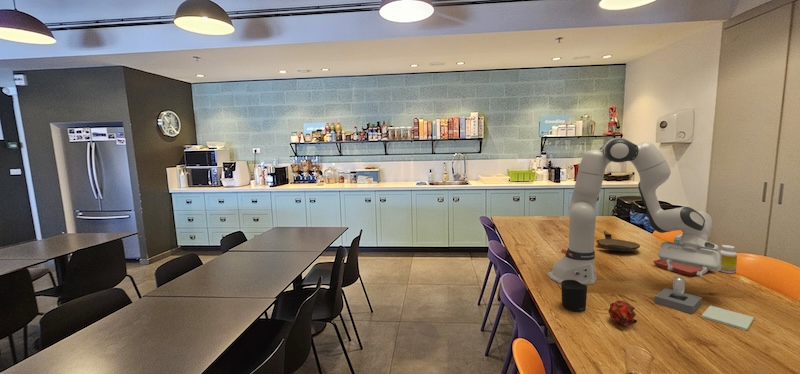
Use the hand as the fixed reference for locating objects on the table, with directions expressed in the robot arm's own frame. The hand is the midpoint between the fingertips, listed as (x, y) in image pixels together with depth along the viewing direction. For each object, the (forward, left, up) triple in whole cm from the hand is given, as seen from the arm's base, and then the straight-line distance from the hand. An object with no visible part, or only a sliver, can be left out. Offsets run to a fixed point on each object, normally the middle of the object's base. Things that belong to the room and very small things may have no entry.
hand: (684, 273), depth 137 cm
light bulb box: (+51, +48, -12) cm, 71 cm away
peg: (-5, -3, -11) cm, 13 cm away
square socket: (-5, -3, -11) cm, 13 cm away
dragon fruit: (-37, -12, -12) cm, 41 cm away
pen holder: (-47, +2, -12) cm, 49 cm away
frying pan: (+23, +65, -12) cm, 70 cm away
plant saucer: (+30, +29, -12) cm, 43 cm away
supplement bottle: (+47, +22, -12) cm, 53 cm away
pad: (+2, -16, -11) cm, 20 cm away
